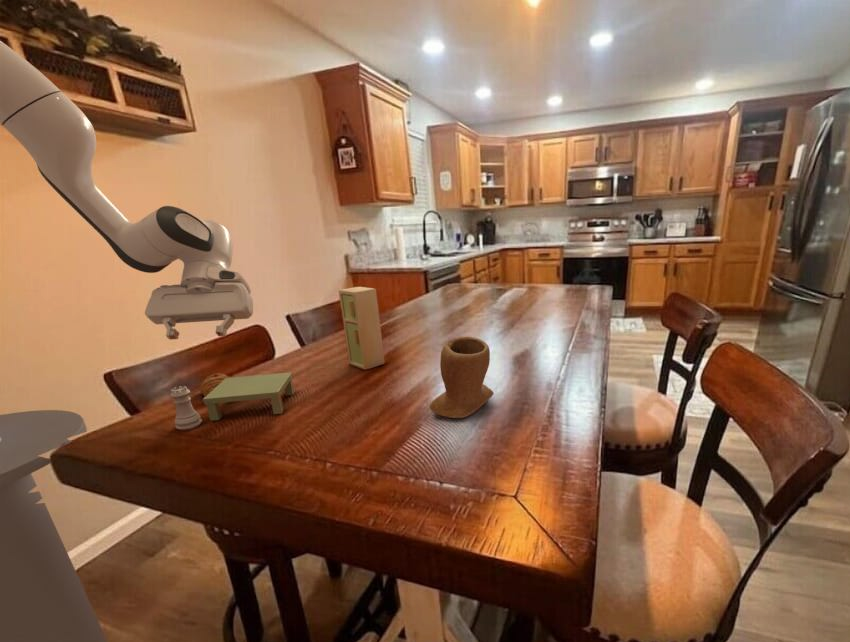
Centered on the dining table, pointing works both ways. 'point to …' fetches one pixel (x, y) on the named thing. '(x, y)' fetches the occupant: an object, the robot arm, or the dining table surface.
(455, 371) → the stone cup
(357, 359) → the toy refrigerator
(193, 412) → the rook chess piece
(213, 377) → the pastry
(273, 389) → the green miniature table
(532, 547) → the dining table surface
